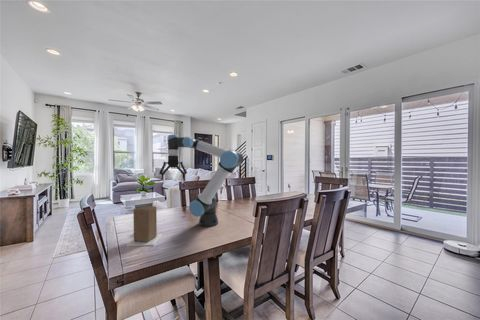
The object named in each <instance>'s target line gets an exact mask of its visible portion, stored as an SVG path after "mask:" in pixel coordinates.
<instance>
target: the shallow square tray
mask: <svg viewBox="0 0 480 320" xmlns="http://www.w3.org/2000/svg"><path fill="white" fill-rule="evenodd" d="M162 236H163V233H157V236H156V237H155V238H153V239H152V240H150V241H149V242H139V241H134V238H132V239H131V240H129V242H127V244H126V245H125V247H149V246H153V247H154V246H155V245H156V244H157V243H158V242H159V240H160V239H161V238H162Z"/></svg>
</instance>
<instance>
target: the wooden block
mask: <svg viewBox="0 0 480 320" xmlns="http://www.w3.org/2000/svg"><path fill="white" fill-rule="evenodd" d="M157 213H158V212H157V206H155V205H153V206H152V205H142V206H140V207H136V208H134V209H133V239H134V241H139V242H149V241H150V240H152V239H153V238H155V237H156V236H157V234H158V232H157V231H158V229H157V224H158V223H157V220H158V219H157Z"/></svg>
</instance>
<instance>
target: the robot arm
mask: <svg viewBox="0 0 480 320" xmlns="http://www.w3.org/2000/svg"><path fill="white" fill-rule="evenodd" d="M179 148H189V149H190V148H191V149H194V150H197V151H200V152H204V153H206V154H208V155H211V156H214V157H217V158H219V162H218V168H217V169H216V170H215V173H213V175H212V177H211V178H210V179H209V181H208V182H207V184H206V185H205V188H204V189H203V191H202V192H201V193H198V194H197V196H196V197H195V199H194V200H191V202H189V206H188V209H189V212H190V214H191V215H192V216H194V217H198V218H199V220H198V225H199V226H201V227H206V228H207V227H214V226H217V225H218V224H219V219H218V216H217V197H216V194H217V192H218V191H219V190H220V188H221V186H222V185H223V183H224V182H225V181H226V179H227V177H228V176H229V175H230V174H232V173H234V171H235V170H236V168H238V167H240V166H241V165H242V164H243V162H244V155H243V154H242V153H241V152H240V151H238V150H233V149H225V148H222V147H219V146H217V145H214V144H212V143H211V144H210V143H208V142H206V141H202V140H200V139H198V138H192V137H191V136H183V137H180V136H179V135H178V134H168V136H167V161H163V162H162V163H163V164H162V166H161V168H160V170H159V175H161V180H162V182H163V183H162V184H166V173H167V171H168V170H169V169H170V168H176V169H177V170H178V171H179V172H180V174H181V184H184V179H185V175H186V174H188V171H187V169H186V168H185V166H184V162H183V161H179ZM167 165H168V166H167ZM179 165H180V166H179Z"/></svg>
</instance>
